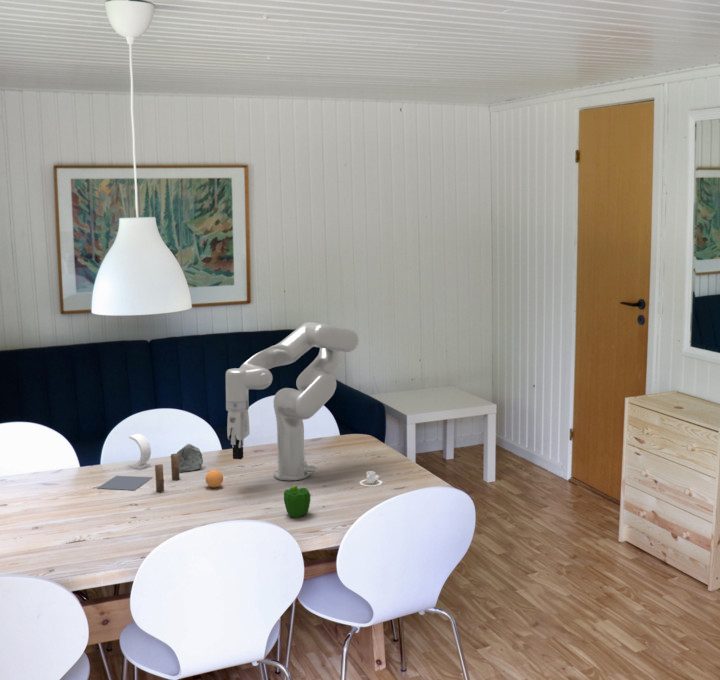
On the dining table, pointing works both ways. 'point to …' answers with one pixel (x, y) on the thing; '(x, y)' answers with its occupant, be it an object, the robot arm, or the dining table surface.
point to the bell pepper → (297, 501)
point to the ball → (214, 478)
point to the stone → (189, 458)
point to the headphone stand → (142, 451)
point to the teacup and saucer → (371, 479)
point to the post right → (175, 466)
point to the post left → (159, 478)
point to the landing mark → (125, 483)
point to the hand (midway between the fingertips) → (238, 458)
